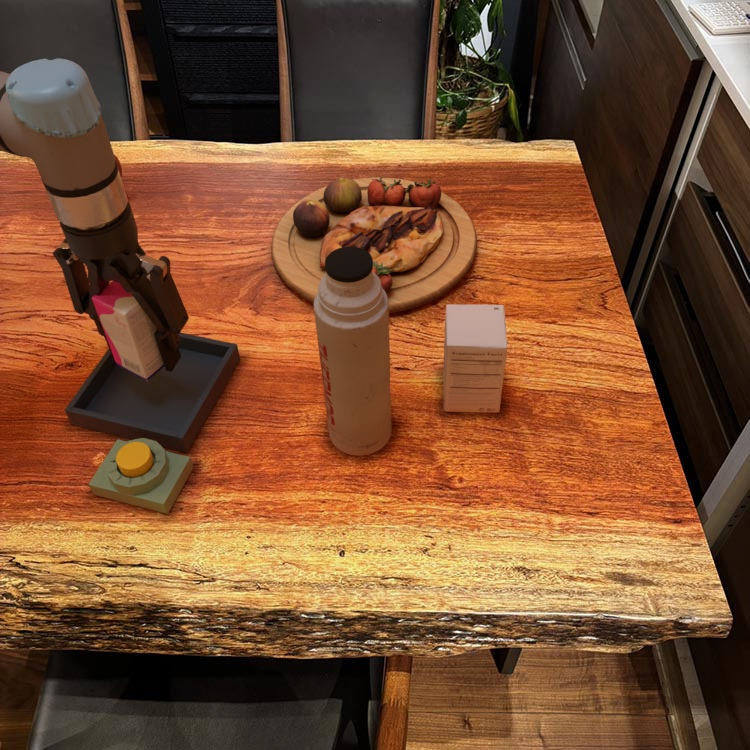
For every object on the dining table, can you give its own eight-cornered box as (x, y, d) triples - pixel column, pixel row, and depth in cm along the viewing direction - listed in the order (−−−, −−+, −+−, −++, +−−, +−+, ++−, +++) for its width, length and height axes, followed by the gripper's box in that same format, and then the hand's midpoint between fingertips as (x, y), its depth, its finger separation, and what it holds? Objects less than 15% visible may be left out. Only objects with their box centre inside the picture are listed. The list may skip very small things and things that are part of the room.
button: (113, 473, 94) (109, 464, 93) (130, 447, 97) (126, 438, 95) (143, 481, 93) (140, 472, 92) (159, 454, 96) (156, 445, 95)
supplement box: (180, 353, 103) (159, 287, 94) (147, 383, 100) (123, 317, 91) (147, 336, 105) (125, 269, 97) (114, 364, 102) (88, 298, 93)
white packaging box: (442, 370, 108) (445, 301, 99) (497, 371, 108) (506, 303, 98) (441, 413, 103) (445, 345, 94) (499, 414, 103) (509, 346, 93)
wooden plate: (452, 336, 112) (454, 292, 106) (241, 299, 119) (231, 255, 113) (493, 202, 133) (497, 158, 126) (310, 176, 139) (306, 134, 133)
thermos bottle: (329, 458, 99) (308, 289, 78) (327, 408, 104) (307, 238, 83) (394, 453, 99) (390, 284, 78) (389, 404, 104) (384, 232, 84)
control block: (93, 494, 97) (83, 475, 94) (122, 449, 101) (113, 429, 98) (168, 514, 94) (160, 495, 91) (193, 467, 99) (187, 447, 96)
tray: (71, 425, 104) (64, 410, 102) (133, 336, 114) (128, 321, 112) (187, 453, 100) (182, 438, 98) (240, 359, 111) (237, 343, 108)
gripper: (193, 203, 85) (230, 352, 103) (33, 177, 90) (94, 323, 107) (160, 247, 81) (205, 395, 98) (-7, 217, 85) (64, 363, 102)
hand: (147, 357), depth 102 cm, fingers closed on supplement box, 7 cm apart
